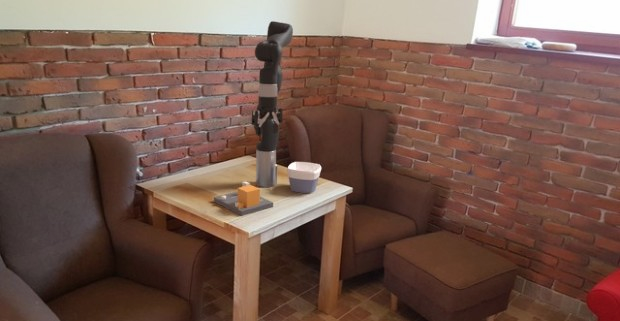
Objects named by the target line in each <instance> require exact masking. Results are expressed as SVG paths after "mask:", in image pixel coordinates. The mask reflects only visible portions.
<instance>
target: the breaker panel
mask: <svg viewBox="0 0 620 321" xmlns="http://www.w3.org/2000/svg"><path fill="white" fill-rule="evenodd" d="M213 202H214V203H216V204H217V205H220V206H221V207H223V208H226V209H228V210H229V211H231V212H233V213H235V214H237V215H239V216H242V217H243V216H244V217H245V216H247V215H249V214H253V213H256V212H260V211H264V210H268V209H271V208H273V207H274V202H273V201H271V200H269V199H266V198H264V197H263V196H260V204H258V205H255V206H251V207H248V208H247V207H245V206H244V203H239V202H238V190H237V191H234V192H229V193H226V194H221V195H217V196H214V197H213Z"/></svg>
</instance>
